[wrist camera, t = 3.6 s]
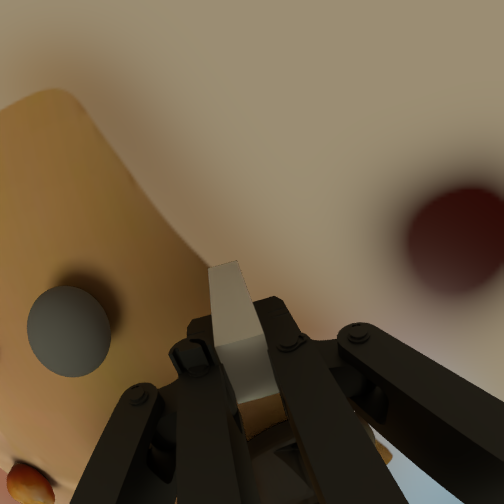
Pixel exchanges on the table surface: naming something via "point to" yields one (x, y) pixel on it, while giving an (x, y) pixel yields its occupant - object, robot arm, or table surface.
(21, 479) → the fruit
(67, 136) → the table surface
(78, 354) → the dark grey ball
